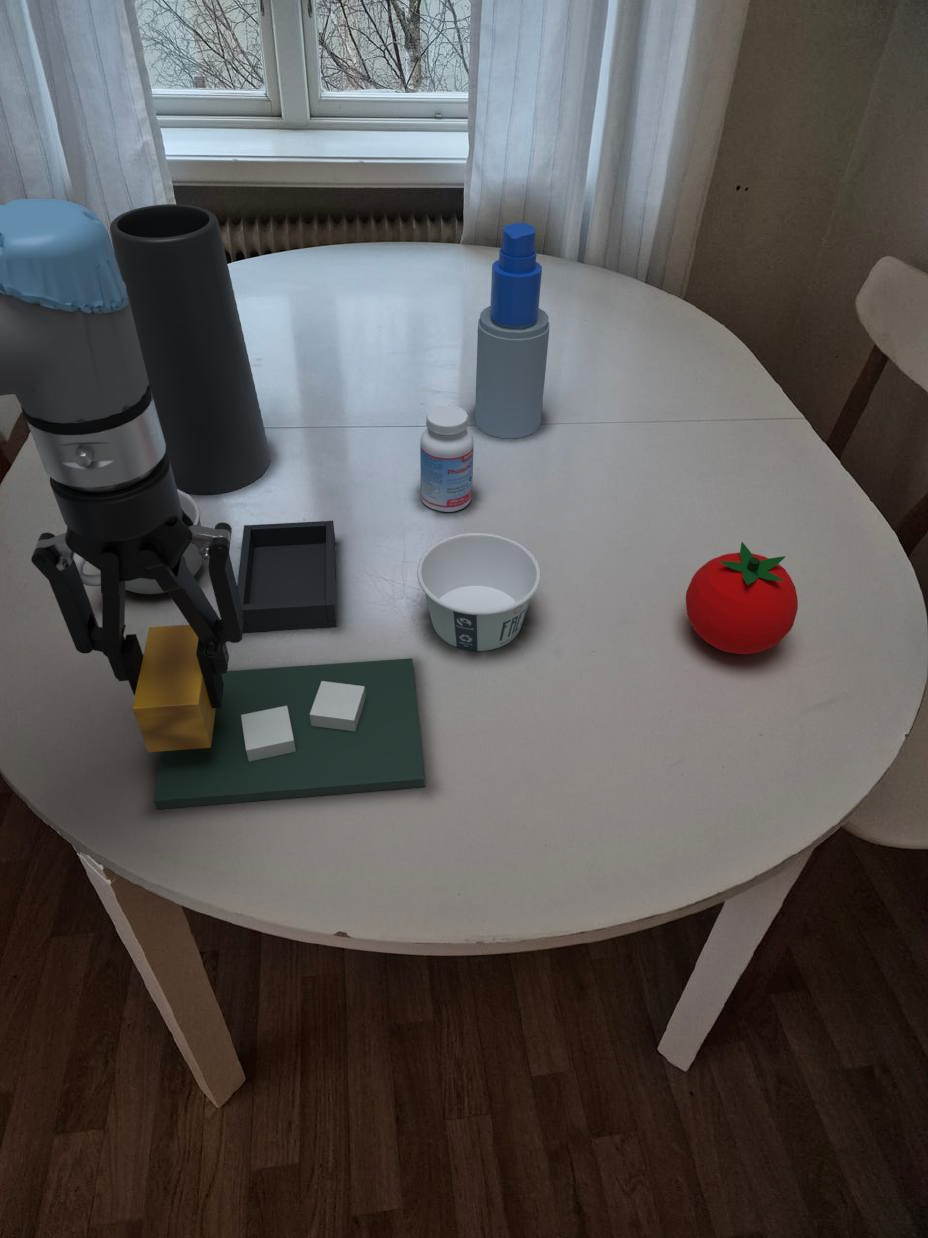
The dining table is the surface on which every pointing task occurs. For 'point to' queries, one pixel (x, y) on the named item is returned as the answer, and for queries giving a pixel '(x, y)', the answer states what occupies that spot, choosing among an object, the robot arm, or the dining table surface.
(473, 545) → the food container
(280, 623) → the tray
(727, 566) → the tomato
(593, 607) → the dining table surface
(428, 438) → the pill bottle
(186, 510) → the teacup
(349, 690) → the white square block
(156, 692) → the yellow rectangular block
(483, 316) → the spray bottle
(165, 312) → the vase
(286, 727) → the grey square block
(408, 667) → the chalkboard
